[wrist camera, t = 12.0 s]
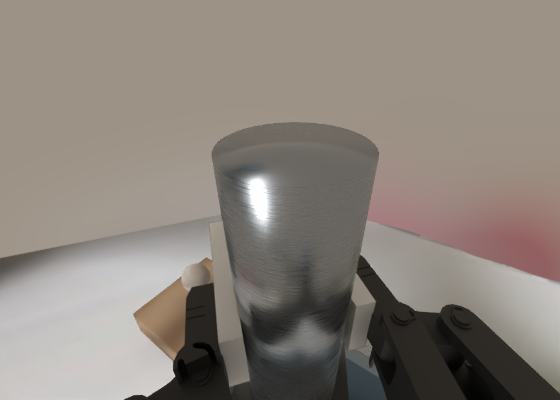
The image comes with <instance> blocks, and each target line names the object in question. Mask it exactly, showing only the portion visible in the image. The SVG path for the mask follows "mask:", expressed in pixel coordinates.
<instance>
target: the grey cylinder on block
mask: <svg viewBox="0 0 560 400" xmlns="http://www.w3.org/2000/svg"><path fill="white" fill-rule="evenodd" d="M378 157H379V152H378V149H377V147H376V146H375V144H374V143H373V142H371V141H370V140H369V139H368V138H366V137H364V136H362V135H360V134H358V133H356V132H353V131H350V130H348V129H344V128H340V127H336V126H330V125H325V124H317V123H300V122H291V123H274V124H266V125H259V126H255V127H251V128H246V129H243V130H240V131H237V132H234V133H232V134H230V135H228V136H226V137H224V138H223V139H221V140H220V141H219V142H218V143H217V144H216V145H215V146H214V148H213V150H212V160H213V167H214V172H215V179H216V184H217V190H218V197H219V202H220V208H221V215H222V221H223V227H224V233H225V239H226V245H227V251H228V257H229V263H230V269H231V275H232V281H233V287H234V293H235V299H236V305H237V310H238V315H239V317H240V323H241V329H242V335H243V341H244V347H245V353H246V360H247V366H248V372H249V378H250V381H247V382H244V383H241V384H237V385H234V387H233V391H232V395H231V396H232V399H233V400H349V396H348V382H347V369H346V355H345V344H344V342H343V339H344V334H345V328H346V323H347V318H348V313H349V308H350V303H351V297H352V292H353V287H354V282H355V277H356V271H357V266H358V261H359V256H360V251H361V246H362V240H363V235H364V230H365V225H366V220H367V214H368V209H369V204H370V199H371V194H372V188H373V183H374V178H375V173H376V167H377V162H378Z"/></svg>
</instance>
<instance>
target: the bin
mask: <svg viewBox="0 0 560 400" xmlns="http://www.w3.org/2000/svg"><path fill="white" fill-rule="evenodd" d="M345 355H346V369H347V382H348V396H349V400H387V398H386V395H385V392H384V389H383V386H382V383H381V380H380V378H379V375H378V372H377V369H376V366H375V363H374V364H373V367H372V368H369V359H370V358H369V357H367V356H366V355H364V354H362V353H360V352H359V351H357V350H355V349H353V350H350V351H348V350H347V348H346V346H345ZM233 387H234V386H231V387H229V389H230V393H231V395H232V391H233Z"/></svg>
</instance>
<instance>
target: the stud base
mask: <svg viewBox="0 0 560 400" xmlns="http://www.w3.org/2000/svg"><path fill="white" fill-rule="evenodd" d="M209 283H214V279H213V266H212V260H210V259H208V258H205V259H204V260H202V261H201V262H200V263H198V264H192V265H190V266H188V267H187V268H186V269H185V270H184V272H183V274H182V277H180V278H179V279H178V280H176V281H175V282H174V283H173V284H171V285H170V286H169V287H167V288H166V289H165V290H163V291H162V292H161V293H160V294H158V295H157V296H156V297H154V298H153V299H152V300H150V301H149V302H148V303H147V304H145V305H144V306H143V307H141V308H140V309H139V310H137V311H136V312H135V313H134V314H133V315H134V317H135V319H136V321H137V323H138V326H139V328H140V330H141V331H142V332H143V333H144V334H145V335H146V336H147V337H148V338H149V339H150V340H151V341H152V342H153V343H154V344H155V345H157V346H158V347H159V348H160V349H161V350H162V351H163V352H164V353H165V354H166V355H167V356H168V357H169V358H171V359H172V360H173V361H174V359H175V357H176V355H177V353H178V351H179V350H180V349H181V348H182V347H183V346H184V343H185V321H186V320H185V314H186V297H187V295H188V293H189V291H190V289H191V287H195V286H200V285H205V284H209Z"/></svg>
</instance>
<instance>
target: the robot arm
mask: <svg viewBox="0 0 560 400" xmlns="http://www.w3.org/2000/svg"><path fill="white" fill-rule="evenodd" d="M209 227H210V240H211V253H212V266H213V279H214V283H209V284H205V285H200V286H195V287H191V289H190V291H189V293H188V295H187V297H186V314H185V320H186V321H185V343H184V346H183V347H182V348H181V349H180V350H179V351H178V353H177V355H176V357H175V359H174V362H173V371H174V374H175V377H174V378H173V380H172V381H171V382H169V383H168V384H167V385H165V386H164V387H162V388H161V389H159V390H158V391H156V392H155V393H153V394H151V395H150V396H148V397H145V396H143V395H133V396H131V397H129V398H126V399H124V400H233V399H232V396H231V393H230V389H229V387H231V386H234V385H237V384H241V383H244V382H247V381H250V378H249V372H248V366H247V360H246V353H245V347H244V341H243V335H242V329H241V323H240V317H239V315H238V310H237V305H236V299H235V293H234V287H233V281H232V275H231V269H230V263H229V257H228V251H227V245H226V239H225V233H224V227H223V221H219V222H213V223H209ZM367 338H368V340H369V341H370V343H371V345H372V347H373V348H372V352H371V355H370V359H369V368H372V367H373V364H374V363H375V366H376V369H377V372H378V375H379V378H380V380H381V383H382V386H383V389H384V392H385V395H386V398H387V400H560V394H559V393H558V392H557V391H556V390H555V389H554V388H553V387H552V386H551V385H550V384H549V383H548V382H547V381H546V380H544V379H543V378H542V377H541V376H540V375H539V374H538V373H537V372H536V371H535V370H534V369H533V368H532V367H531V366H530V365H528V364H527V363H526V362H525V361H524V360H523V359H522V358H521V357H520V356H519V355H518V354H517V353H516V352H515V351H514V350H512V349H511V348H510V347H509V346H508V345H507V344H506V343H505V342H504V341H503V340H502V339H501V338H500V337H499V336H498V335H496V334H495V333H494V332H493V331H492V330H491V329H490V328H489V327H488V326H487V325H486V324H485V323H484V322H483V321H481V320H480V319H479V318H478V317H477V316H476V315H475V314H474V313H472V312H471V311H470V310H468V309H466V308H464V307H462V306H458V305H453V304H452V305H446V306H444V307H443V308H442V310H441V312H440V313H430V312H418V311H415V310H414V309H412V308H411V307H409V306H408V305H406V304H403V303H401V302H398V300H397V299H396V298H395V297H394V296H393V294H392V293H391V292H390V291H389V289H388V288H387V287H386V285H385V284H384V283H383V281H382V280H381V279H380V278H379V276H378V275H377V274H376V272H375V271H374V270H373V269H372V268H371V267H370V265H369V263H368V262H367V261H366V259H365V258H364V257H362V256H361V255H360V256H359V261H358V266H357V271H356V277H355V282H354V287H353V292H352V297H351V303H350V308H349V313H348V318H347V323H346V328H345V334H344V339H343V342H344V344H345V346H346V348H347V350H348V351H350V350H353V349H357V348H360V347H363V346H365V344H366V340H367Z"/></svg>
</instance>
